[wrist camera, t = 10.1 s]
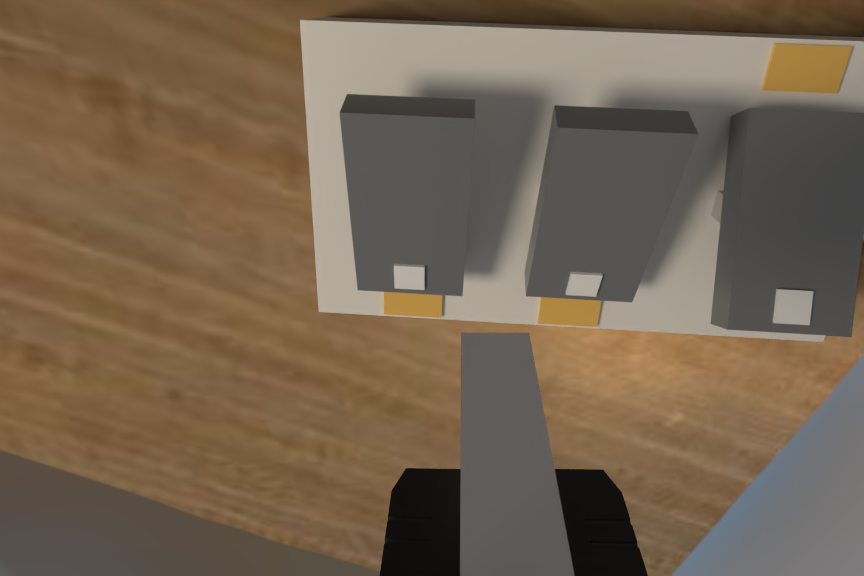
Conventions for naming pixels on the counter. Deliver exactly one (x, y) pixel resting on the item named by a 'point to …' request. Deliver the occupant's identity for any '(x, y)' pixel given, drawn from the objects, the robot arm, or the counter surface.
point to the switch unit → (527, 142)
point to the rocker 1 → (408, 190)
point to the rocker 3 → (791, 222)
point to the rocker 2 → (604, 199)
